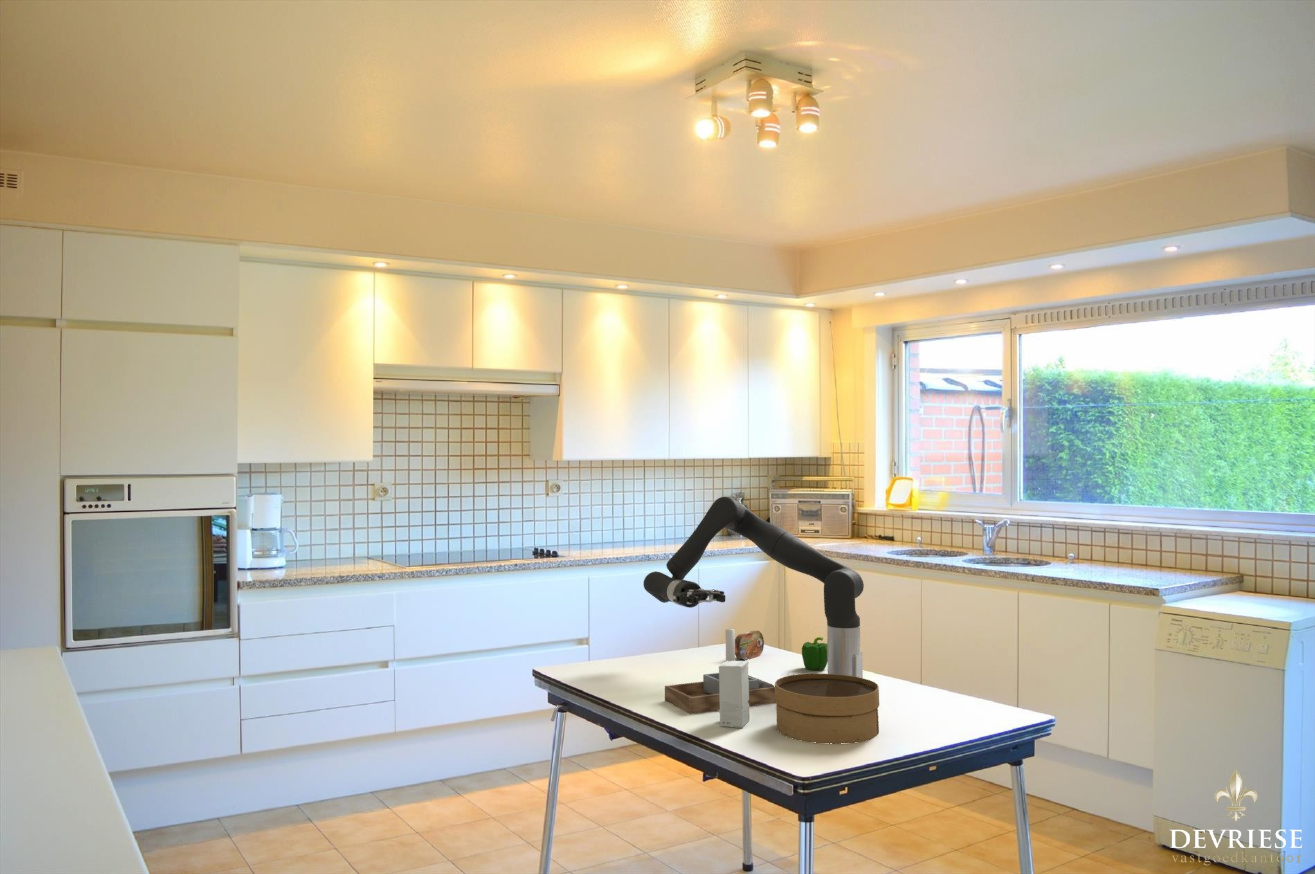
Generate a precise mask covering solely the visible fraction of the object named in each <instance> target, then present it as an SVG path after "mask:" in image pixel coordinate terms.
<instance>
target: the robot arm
mask: <svg viewBox="0 0 1315 874" xmlns="http://www.w3.org/2000/svg"><path fill="white" fill-rule="evenodd" d="M723 529H727V530H730V531H732V532H734V533H737V534H738V535H741V536H742V537H744V538H745V539H748V540H749V541H751V542H752V543H753V544H754V545H755V546H757V548H758V549H760V550H761V551H762V552H764V554H766V555H767V556H768V557H770V558H771V559H773V560H774V561H776V562H778V563H779V564H780V565H782V566H784V567H785V568H788V569H790V570H792V571H793V570H794V571H796V572H799V573H801V574H805V575H807V576H810V577H812V578H815V579H817V580H818V581H819V582H821V583H823V604H824V605H823V606H824V607H823V608H824V616H825V618H826V623H827V624H826V625H827V626H826V629H827V631H826V632H827V633H826V636H827V638H826V639H827V640H826V641H827V643H826V644H827V674H838V675H847V676H854V677H859V678H863V679H864V677H863V676H864V675H863V673H864V671H863V669H864V668H863V667H864V666H863V665H864V664H863V660H864V659H863V652H862V651H861V619H860V618H861V617H860V616H859V615H858V613H857V609H856V599H857V598H858V597H860V596H861V595H862V594H863V591H864V587H865V585H864V581H863V578H862V576H861V574H860V573H859V572H858V571H856V570H854V569H853V568H850V567H848V566H847V565H845V564H843V563H840V562H837V561H835V560H834V559H832V558H830V557H828V556H826V555H825V554H823V553H822V552H820V551H818V549H816V548H815V547H812V546H811V545H809V544H808V543H806V542H805V541H803V540H802V539H800V538H799V537H798V536H796V535H794V534H793V533H791V532H789V531H787V530H786V529H784V528H783V527H782V528H781V527H780V526H778V525H775V524H773V523H770V522H768V521H766V520H764V519H762V518H761V517H759V516H758V515H757V514H755V513H754V512H752V511H751V510H750V509H748V508H747V507H746V506H745V505H743V503H741V502H740V501H738V500H736V499H735V498H732V497H729V496H721V497H718V498H717V499H716V500H715V501H714V502H713V503H712V504H711V505H710V507H709V508H708V510H707V512H706V513H705V515H704V516H703V518H702V520H701V521H700V522H699V524H698V525H697V527H696V528H695V529H694V531H693V532H692V533H691V535H690V536H689V537H688V539H686V541H684V543H683V544H682V546H681V547H680V548H679V549H677V551H676V552H675V553H674V554H673V555H672V557H670V559H669V560H668V561H667V563H666V568H667V571H669V573H670V574H671V576H669V575H667V574H665V573H663V572H660V571H651V572H650V573H648V574H647V575H645V577H644V579H643V588H644V590H645V591H646V593H648V594H650V595H651V596H652V597H653V598H655V599H656V600H658V601H659V602H661V603H663V604H665V603H668V602H670V603H673V604H675V605H678V606H681V607H684V608H688V609H689V608H692V609H693V608H695V607H697V606H698V605H699V604H702V603H712V602H719V603H725V602H726V594H725V591H724V590H718V589H704V588H702V587H701V585H699V583H696V582H695V581H690V580H686V579H685V578H686V577H687V575H688V574H689V573H690V572H691V570H692V569H693V568H695V566H696V565H697V564H698V563H699V561H700V560H701V559H702V557H703V555H704V553H705V551H706V549H707V547H708V546H709V544H710V543H711V541H712V540H713V538H714V537H716V535H717V534H718V533H719V532H721V531H722V530H723Z"/></svg>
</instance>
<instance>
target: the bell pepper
mask: <svg viewBox="0 0 1315 874" xmlns="http://www.w3.org/2000/svg"><path fill="white" fill-rule="evenodd" d="M823 640H824V637H822V636H817V637H816V638H814V640H813V642H810V641H806V642H804V643H803V645H802V647H801V655H802V656H801V657H802V662H803V665H804V668H805V670H808V671H816V670H817V671H821V670H822V671H823V670H825V669H826V667H827V666H828V663H827V643H825V642H823ZM818 641H821V643H820V642H818Z"/></svg>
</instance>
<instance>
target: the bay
mask: <svg viewBox="0 0 1315 874" xmlns="http://www.w3.org/2000/svg"><path fill="white" fill-rule="evenodd" d="M748 676H750V677H752V678H755V679H757V680H759V689H753V690H749V707H751V706H752V707H753V706H760V705H767V704H776V702H775V684H773V683H770V682H767V681H765V680H763V679H759V678H757V677H754V676H752V675H749V674H748ZM664 702H667V703H669V704H670V705H672V706H675V707H676V708H678V709H680V710H682V711H683V712H686V713H689V714H690V713H691V714H692V713H693V714H699V713H707V712H715V711H720V698H719V694H712V695H707V694H705V693H703V681H696V682H686V683H678V684H670V685H664ZM691 714H690V715H691Z"/></svg>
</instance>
